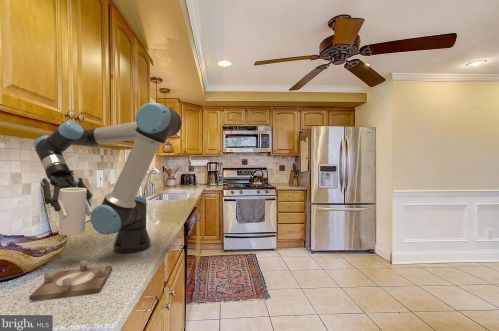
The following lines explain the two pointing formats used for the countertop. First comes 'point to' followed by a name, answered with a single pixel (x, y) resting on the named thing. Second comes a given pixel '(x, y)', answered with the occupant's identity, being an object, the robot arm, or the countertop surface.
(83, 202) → the cup
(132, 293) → the countertop surface
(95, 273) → the locator plate
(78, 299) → the countertop surface
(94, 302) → the countertop surface
